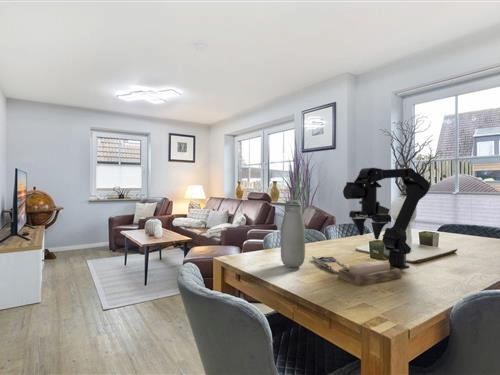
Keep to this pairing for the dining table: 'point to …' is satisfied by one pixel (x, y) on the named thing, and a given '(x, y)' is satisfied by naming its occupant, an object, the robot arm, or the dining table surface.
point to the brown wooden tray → (369, 276)
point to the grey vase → (293, 235)
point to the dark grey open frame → (329, 259)
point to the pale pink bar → (369, 267)
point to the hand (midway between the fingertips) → (368, 237)
